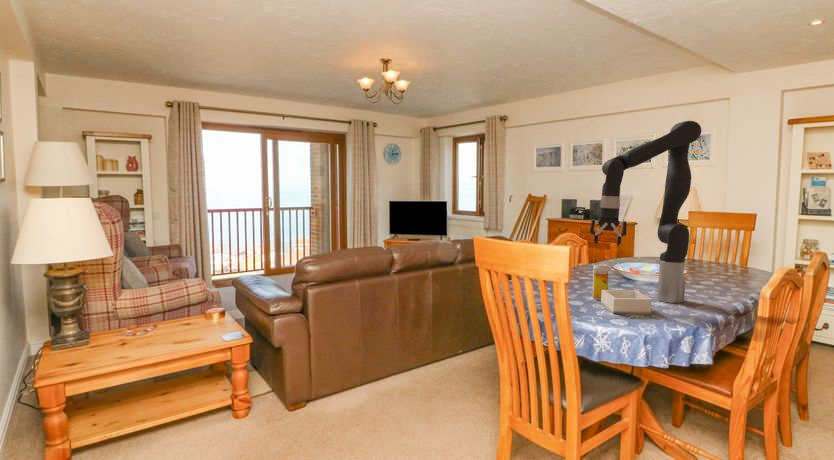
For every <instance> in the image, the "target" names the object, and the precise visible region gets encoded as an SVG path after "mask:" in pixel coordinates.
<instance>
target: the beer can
mask: <svg viewBox="0 0 834 460" xmlns="http://www.w3.org/2000/svg"><path fill="white" fill-rule="evenodd" d="M609 269H610V268H609V266H608V264H605V263H595V264H594V265H593V267H592V290H591V294H592V295H591V296H592V298H593V300H595V301H601V293H602V290H609V289H608V288H609V287H608V285H609V271H610V270H609Z"/></svg>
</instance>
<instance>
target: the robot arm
mask: <svg viewBox="0 0 834 460" xmlns="http://www.w3.org/2000/svg"><path fill="white" fill-rule="evenodd" d="M701 135H702V126H701V125H700V124H699V123H698V122H696V121H694V120H685V121H681V122H678V123H676V124H674V125H673V126H672V127H671V129H670V131H669V132H668V133H666V134H664V135H662V136H660V137H658V138H656V139H653V140H651V141H648V142H645V143H642V144H641V145H638V146H636V147H634V148H632V149H630V150H628V151H626V152H624V153H622V154H620V155H618V156H615V157H613V158H611V159H608V160H606V161H605V162H604V163H603V164H602V167H601V171H602V172H603V173H602V174H604V175H605V182H603V185H602V189H601V199H600V207H599V217H598V220H595V219H591V221H590V228H589V229H590V230H589V233H590V234H591V235H593V243H594V245H599V234H600V233H601V232H602V231H604V232H605V231H606V232H607V231H610V232H613V231H614V232H615V234H616V235H617V236H616V246H620V245H621V244H622V237H624V236H625V237H626V235H627V226H628V225H627V221H626V220H623V221H619V215H620V206H621V204H620V203H621V198H620V195H621V185H622V182H623V178H624V173H625V170H628V169H632V168H635V167H637V166H639V165H641V164H644V163H645V162H648V161H649V160H651V159H653V158H655V157H657V156H659V155H661V154H663V153H665V152H667V151H668V153H669V155H668V163H667V169H666V175H665V176H666V177H665V184H664V195H663V204H662V209H661V214H660V218H659V222H658V227H657V237H658V240H659V241H660V242H661V243H663V244H667V246H666V250H665V251H664V252H661V253H660V254H659V267H658V282H657V283H658V284H657V285H658V286H657V298H656V299H657V300H658V301H661V302H664V303H669V304H680V303H685V292H686V283H687V282H686V279H684V277H685V274H684V273H685V261H686V257H687V256H688V252H689V243H690V231H689V228H688V227H687V226H686V225H684V224H681V223H678V219H679V213H680V210H681V208H682V206H683V204H684V203H685V202H686V200H687V198H688V196H689V195H690V191H691V187H692V186H691V184H692V171H691V170H692V169H691V167H690V164H689V150H690V145H691V144H692V143H694V142H695V141H696V142H697V140H698V139H699V138H700V137H701ZM597 224H598V225H599V227H598V228H597V229H596V230H595V226H597ZM619 225H620V226H621V228H622V229H621V231H622V232H620V230H619V229H618V226H619Z"/></svg>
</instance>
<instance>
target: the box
mask: <svg viewBox="0 0 834 460" xmlns="http://www.w3.org/2000/svg"><path fill="white" fill-rule="evenodd" d="M600 305H602V306H603V307H605V309H607V310H608V311H609V312H610V313H611V314H613V315H644V314H647V315H648V316H649V315H650V316H651V314H652V313H651V312H652V311H651V310H652V299H651V298H650V297H648V296H646V295H644V294H643V293H641V292H640V291H638V290H637V289H634V290H633V289H632V290H631V289H622V290H621V289H608V290H602V293H601V300H600Z"/></svg>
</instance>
